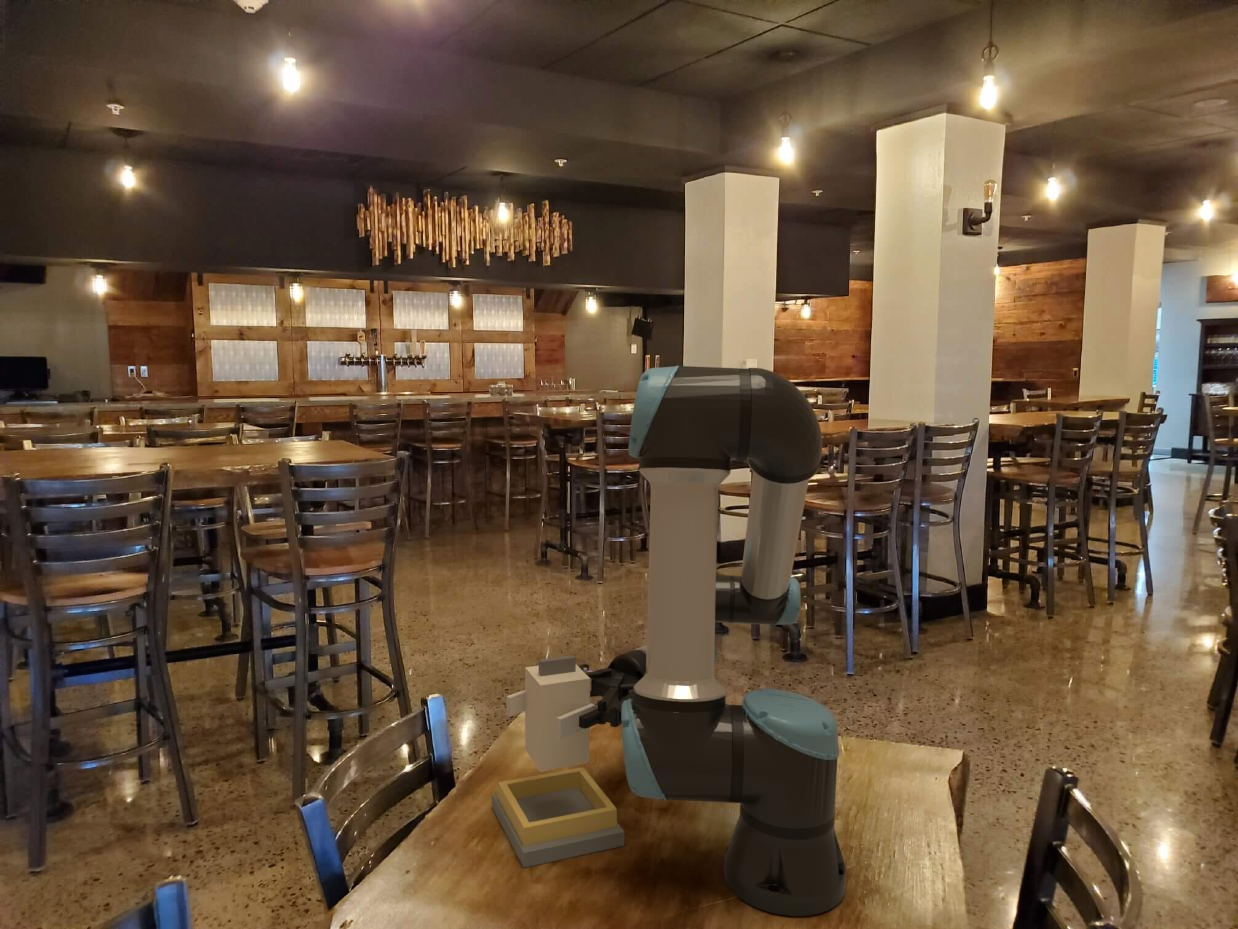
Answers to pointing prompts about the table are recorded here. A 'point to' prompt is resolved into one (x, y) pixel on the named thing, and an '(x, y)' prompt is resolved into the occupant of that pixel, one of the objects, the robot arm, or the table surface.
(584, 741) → the beige rectangular block
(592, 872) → the table surface
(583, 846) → the tray
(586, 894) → the table surface
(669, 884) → the table surface
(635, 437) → the robot arm
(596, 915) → the table surface
